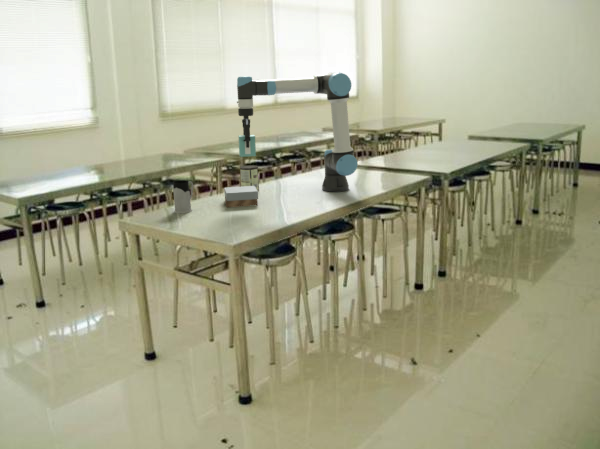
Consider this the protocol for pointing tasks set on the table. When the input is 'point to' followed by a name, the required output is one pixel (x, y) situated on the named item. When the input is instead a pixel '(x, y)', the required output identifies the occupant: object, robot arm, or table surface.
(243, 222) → the table surface
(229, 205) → the walnut slab
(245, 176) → the coffee can
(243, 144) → the teal block
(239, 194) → the grey slab
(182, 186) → the grey black mug
